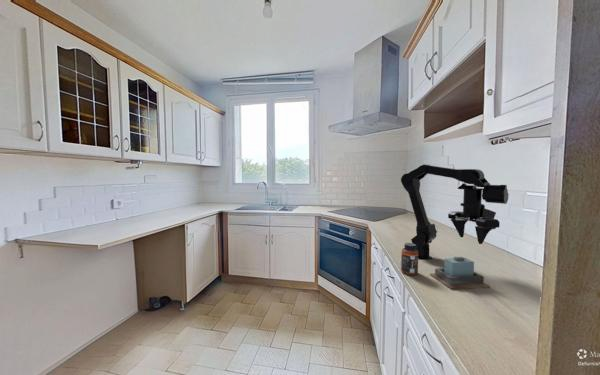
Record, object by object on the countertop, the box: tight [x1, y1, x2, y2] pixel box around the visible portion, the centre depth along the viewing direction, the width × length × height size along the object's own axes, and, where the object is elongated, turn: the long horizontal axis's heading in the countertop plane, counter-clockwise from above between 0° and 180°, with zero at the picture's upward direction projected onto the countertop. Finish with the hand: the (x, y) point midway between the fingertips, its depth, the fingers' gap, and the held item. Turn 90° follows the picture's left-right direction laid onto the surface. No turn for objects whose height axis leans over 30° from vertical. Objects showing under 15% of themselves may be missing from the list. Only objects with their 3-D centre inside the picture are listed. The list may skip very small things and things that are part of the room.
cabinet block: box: [443, 256, 475, 277], centre depth 84 cm, size 4×8×8 cm, turn 95°
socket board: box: [429, 267, 491, 290], centre depth 84 cm, size 11×14×3 cm
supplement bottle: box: [400, 242, 419, 276], centre depth 91 cm, size 6×6×11 cm
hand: (470, 240), depth 93 cm, fingers open, 9 cm apart
